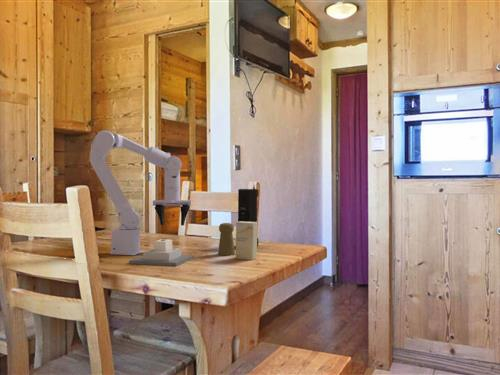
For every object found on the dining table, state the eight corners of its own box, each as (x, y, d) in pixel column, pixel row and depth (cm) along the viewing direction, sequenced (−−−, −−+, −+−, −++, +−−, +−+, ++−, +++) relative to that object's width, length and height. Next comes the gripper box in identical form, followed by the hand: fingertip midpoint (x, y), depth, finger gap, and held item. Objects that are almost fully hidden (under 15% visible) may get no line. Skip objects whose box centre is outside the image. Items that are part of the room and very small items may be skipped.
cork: (232, 256, 147) (232, 224, 147) (215, 255, 148) (215, 223, 148) (236, 253, 153) (236, 222, 153) (220, 252, 154) (220, 222, 154)
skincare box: (235, 258, 142) (235, 222, 142) (240, 256, 146) (240, 221, 146) (252, 260, 139) (252, 222, 139) (257, 258, 143) (257, 221, 143)
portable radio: (234, 246, 169) (234, 182, 169) (245, 244, 173) (245, 182, 173) (247, 248, 164) (247, 182, 163) (259, 246, 168) (258, 182, 167)
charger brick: (154, 258, 137) (153, 240, 137) (161, 255, 142) (161, 238, 142) (165, 259, 136) (165, 241, 136) (172, 256, 141) (172, 239, 141)
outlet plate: (128, 263, 134) (128, 252, 134) (150, 256, 147) (150, 245, 147) (176, 266, 130) (176, 254, 130) (194, 258, 143) (194, 247, 143)
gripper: (149, 188, 156) (150, 226, 156) (189, 188, 154) (189, 226, 155) (155, 188, 163) (156, 224, 163) (193, 188, 161) (193, 224, 162)
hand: (172, 225), depth 159 cm, fingers open, 7 cm apart
